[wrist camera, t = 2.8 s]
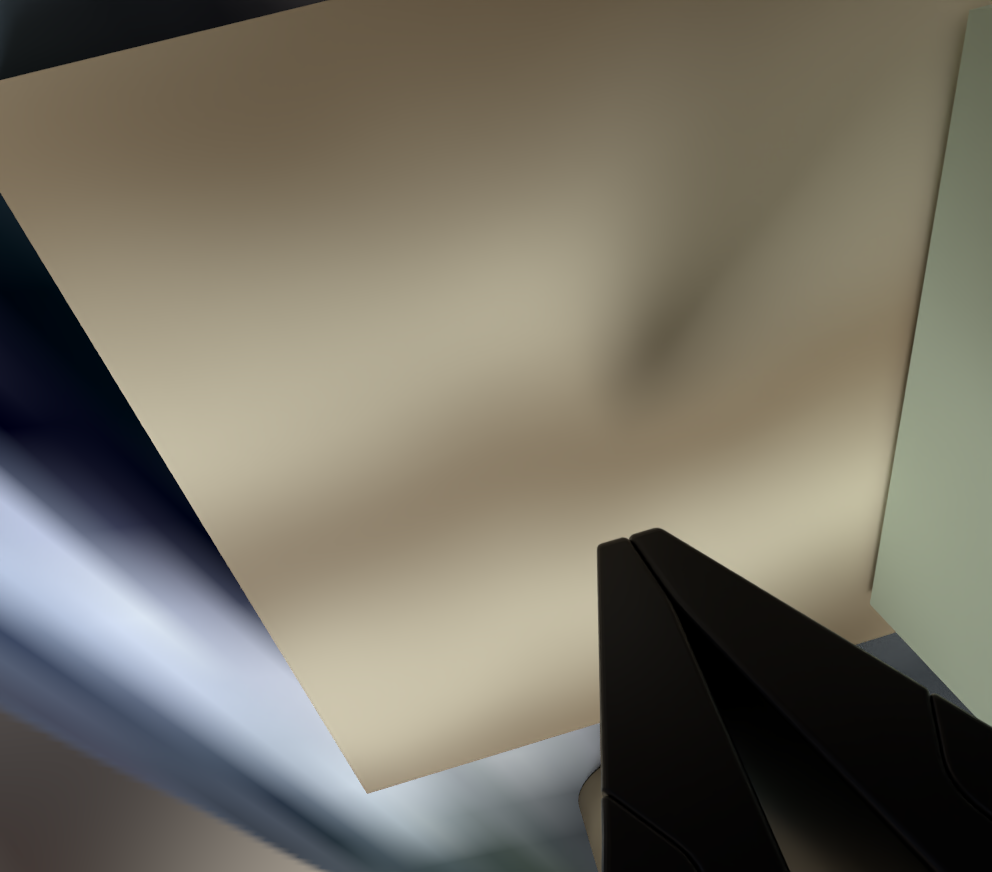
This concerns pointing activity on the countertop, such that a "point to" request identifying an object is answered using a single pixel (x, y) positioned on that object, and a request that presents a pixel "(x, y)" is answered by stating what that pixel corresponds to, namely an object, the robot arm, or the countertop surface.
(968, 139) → the socket block
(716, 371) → the wall board
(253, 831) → the countertop surface
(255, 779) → the countertop surface
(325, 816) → the countertop surface
